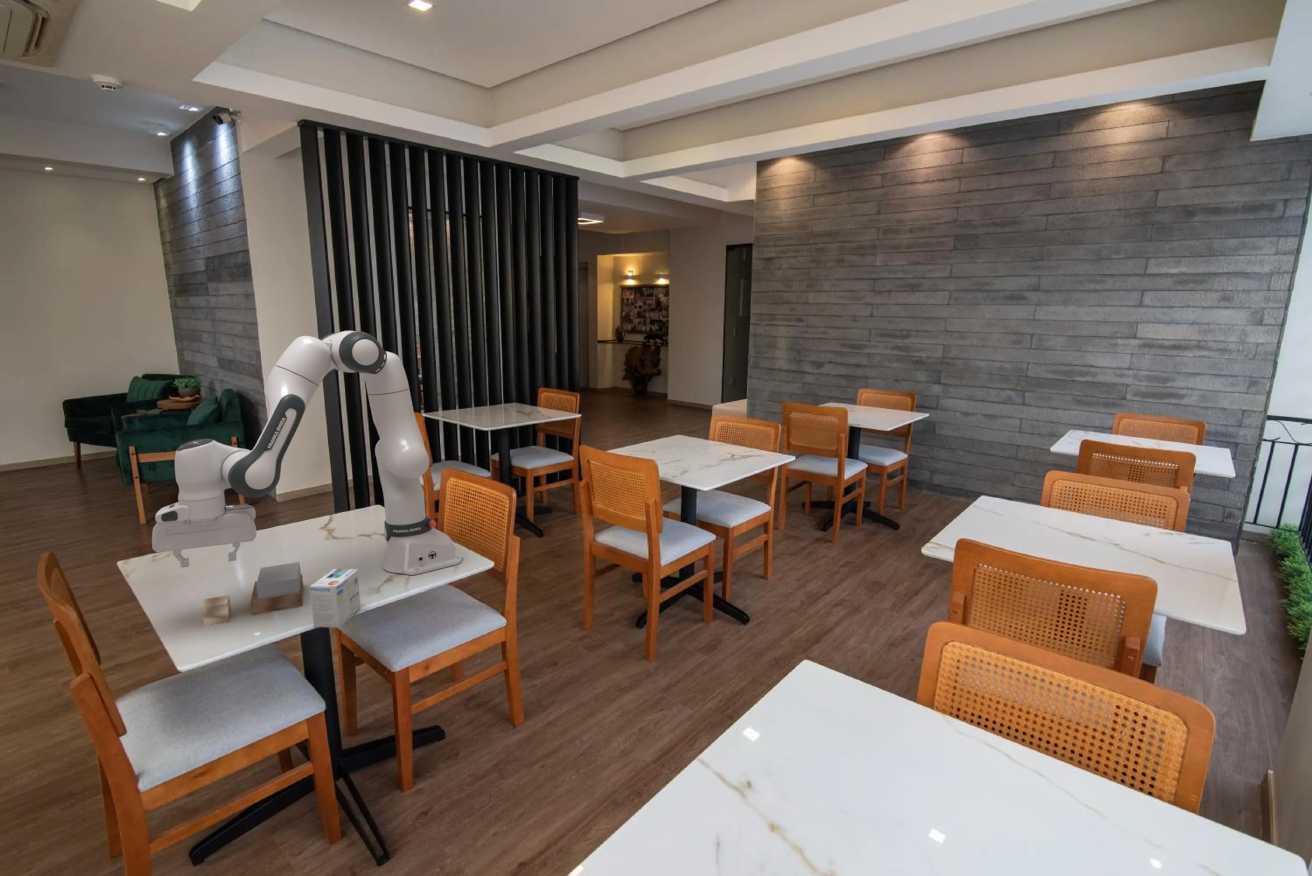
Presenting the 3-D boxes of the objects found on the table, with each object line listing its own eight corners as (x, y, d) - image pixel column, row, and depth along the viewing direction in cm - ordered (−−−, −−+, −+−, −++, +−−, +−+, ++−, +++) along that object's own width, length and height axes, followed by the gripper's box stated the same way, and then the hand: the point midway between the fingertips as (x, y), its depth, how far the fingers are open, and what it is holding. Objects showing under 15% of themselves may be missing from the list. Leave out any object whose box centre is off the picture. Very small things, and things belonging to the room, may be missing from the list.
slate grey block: (301, 575, 172) (299, 561, 171) (299, 592, 161) (297, 578, 161) (262, 581, 168) (260, 567, 167) (258, 599, 157) (256, 584, 157)
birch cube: (231, 613, 157) (229, 595, 156) (229, 622, 153) (226, 603, 152) (207, 618, 155) (204, 599, 154) (204, 626, 151) (201, 607, 150)
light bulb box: (336, 607, 161) (332, 567, 159) (362, 608, 161) (358, 568, 159) (312, 627, 151) (308, 585, 149) (340, 628, 150) (336, 586, 148)
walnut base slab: (303, 587, 174) (301, 574, 173) (302, 608, 162) (301, 593, 161) (256, 595, 169) (254, 581, 168) (252, 617, 157) (250, 602, 156)
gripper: (255, 499, 156) (260, 552, 159) (152, 509, 147) (159, 565, 149) (253, 506, 151) (259, 560, 153) (146, 517, 141) (153, 575, 144)
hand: (209, 563), depth 151 cm, fingers open, 8 cm apart
